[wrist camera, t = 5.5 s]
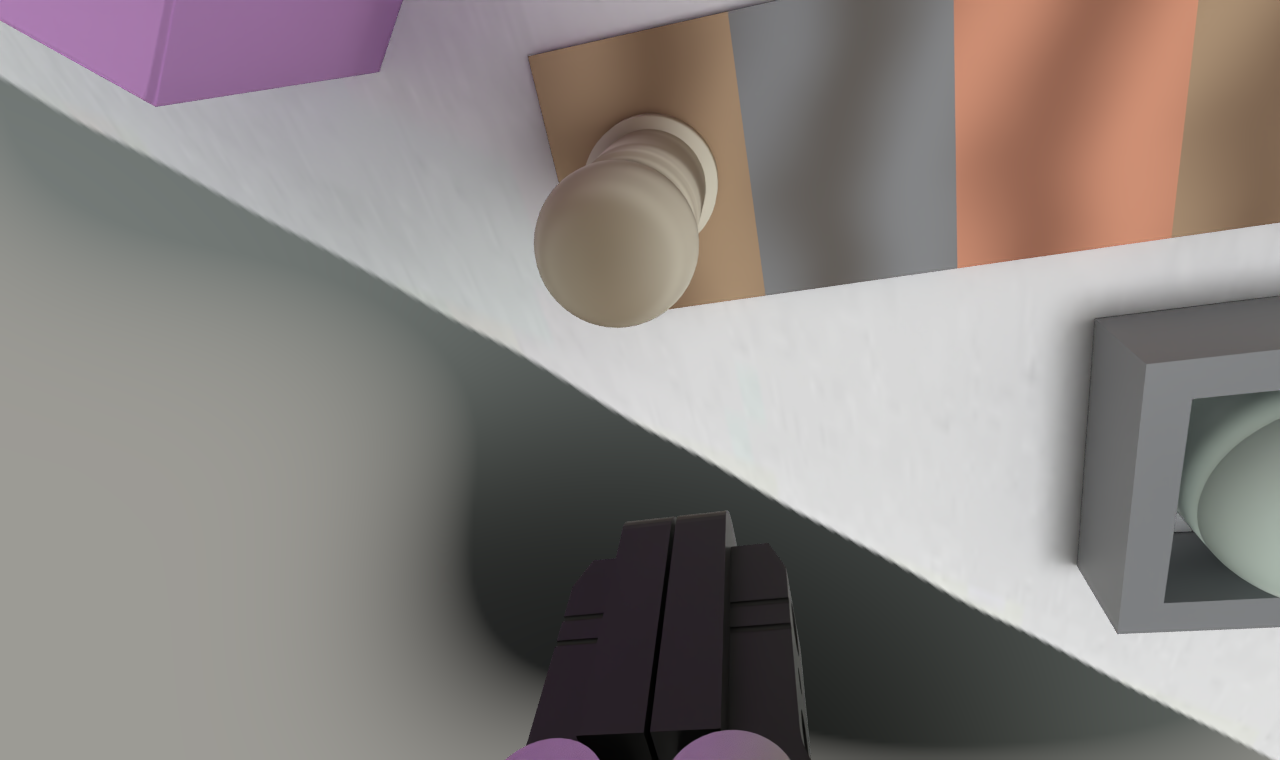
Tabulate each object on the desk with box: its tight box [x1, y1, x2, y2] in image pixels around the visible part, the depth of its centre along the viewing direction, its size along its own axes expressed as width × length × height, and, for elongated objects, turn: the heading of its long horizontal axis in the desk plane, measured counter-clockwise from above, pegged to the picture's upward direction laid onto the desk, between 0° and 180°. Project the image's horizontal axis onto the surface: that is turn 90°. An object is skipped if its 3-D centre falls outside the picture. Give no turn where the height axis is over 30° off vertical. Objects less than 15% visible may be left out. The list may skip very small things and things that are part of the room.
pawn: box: [534, 113, 718, 328], centre depth 22 cm, size 5×5×10 cm
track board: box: [528, 0, 1280, 309], centre depth 25 cm, size 28×10×1 cm, turn 102°
